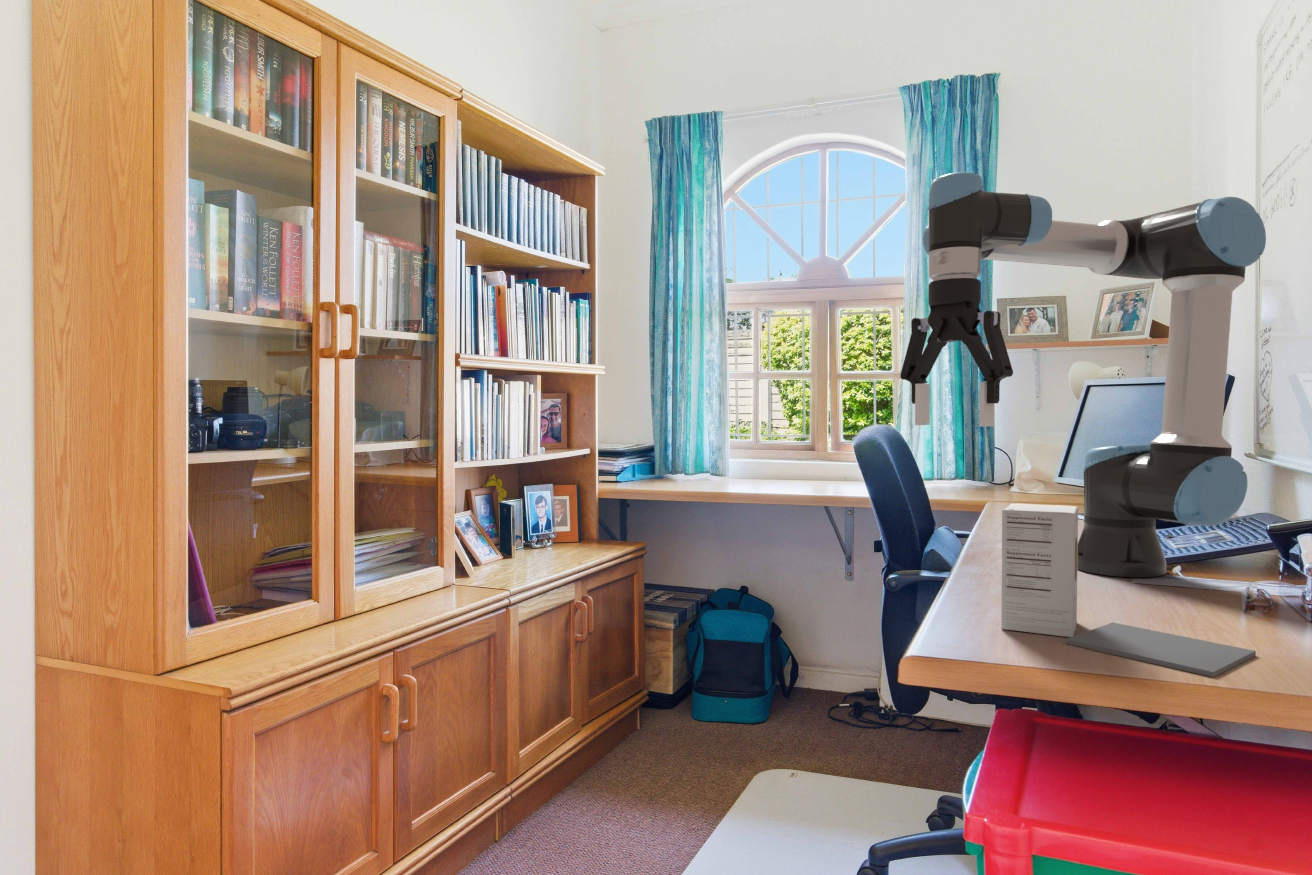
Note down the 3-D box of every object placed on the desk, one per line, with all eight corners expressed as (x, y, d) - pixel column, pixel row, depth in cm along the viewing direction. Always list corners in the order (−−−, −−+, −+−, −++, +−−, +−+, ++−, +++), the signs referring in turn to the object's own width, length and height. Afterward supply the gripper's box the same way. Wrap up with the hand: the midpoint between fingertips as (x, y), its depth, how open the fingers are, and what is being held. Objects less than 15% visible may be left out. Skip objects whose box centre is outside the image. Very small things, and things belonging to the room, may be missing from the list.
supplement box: (1074, 638, 111) (1076, 513, 110) (1000, 630, 115) (1001, 509, 115) (1077, 621, 119) (1079, 504, 118) (1008, 614, 124) (1009, 501, 123)
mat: (1112, 626, 116) (1112, 622, 116) (1255, 655, 103) (1255, 650, 103) (1065, 643, 109) (1065, 638, 109) (1213, 677, 95) (1213, 671, 95)
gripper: (877, 286, 133) (876, 424, 134) (1012, 267, 115) (1010, 427, 116) (906, 290, 138) (905, 423, 139) (1040, 272, 119) (1039, 426, 120)
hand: (953, 425), depth 127 cm, fingers open, 10 cm apart
